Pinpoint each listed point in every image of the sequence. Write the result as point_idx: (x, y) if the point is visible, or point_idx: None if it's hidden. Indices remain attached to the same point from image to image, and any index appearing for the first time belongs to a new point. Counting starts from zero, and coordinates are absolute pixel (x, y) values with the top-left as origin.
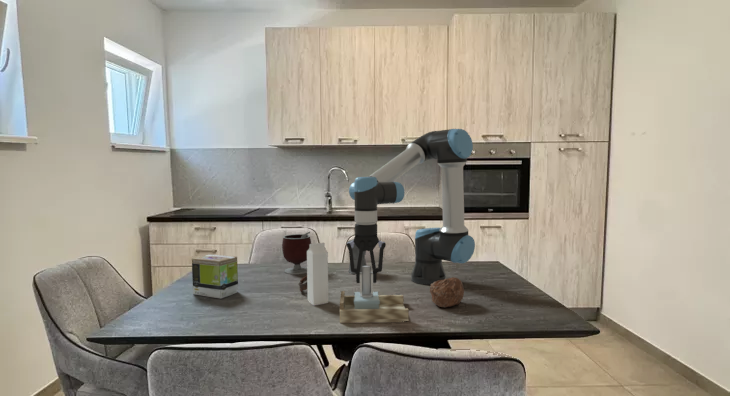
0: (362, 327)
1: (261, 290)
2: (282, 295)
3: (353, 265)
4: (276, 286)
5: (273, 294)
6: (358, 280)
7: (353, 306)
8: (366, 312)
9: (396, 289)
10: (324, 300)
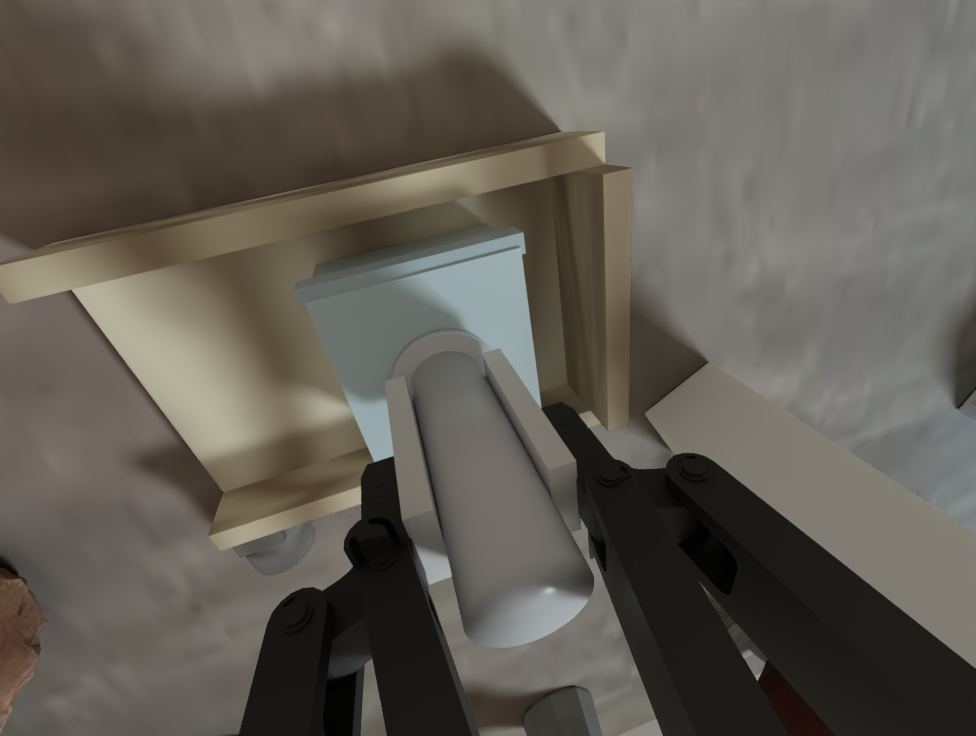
0: (390, 60)
1: (881, 451)
2: (820, 430)
3: (736, 533)
4: None
5: (849, 429)
6: (557, 422)
7: None
8: (391, 177)
9: None
10: (671, 407)
